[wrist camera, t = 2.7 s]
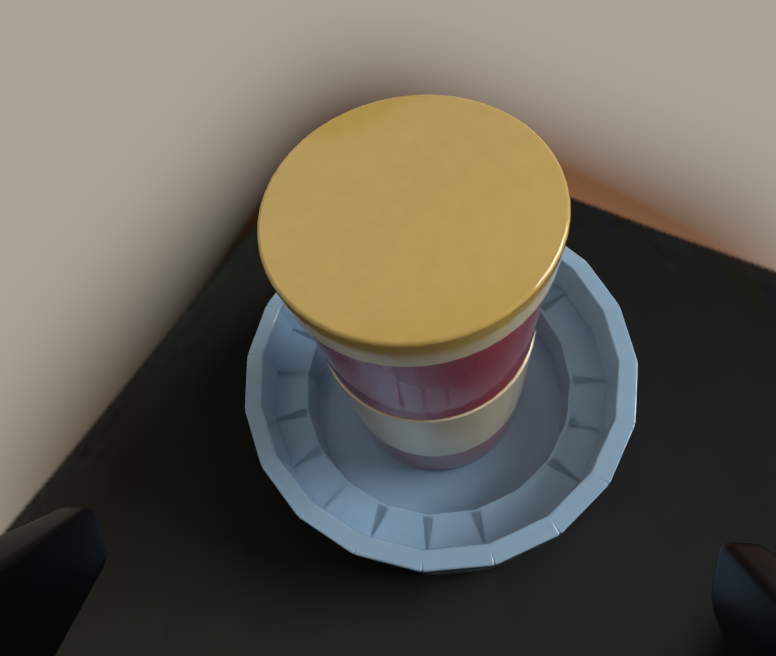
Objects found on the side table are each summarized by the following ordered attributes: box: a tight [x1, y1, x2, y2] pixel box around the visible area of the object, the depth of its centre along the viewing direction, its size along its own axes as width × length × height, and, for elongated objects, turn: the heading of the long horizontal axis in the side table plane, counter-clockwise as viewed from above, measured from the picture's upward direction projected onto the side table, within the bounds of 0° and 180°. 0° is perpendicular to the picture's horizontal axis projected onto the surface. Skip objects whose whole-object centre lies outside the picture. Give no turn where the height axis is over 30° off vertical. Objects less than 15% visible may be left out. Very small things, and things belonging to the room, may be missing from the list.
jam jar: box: [257, 95, 571, 470], centre depth 16 cm, size 6×6×12 cm
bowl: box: [245, 246, 638, 576], centre depth 20 cm, size 13×13×4 cm
